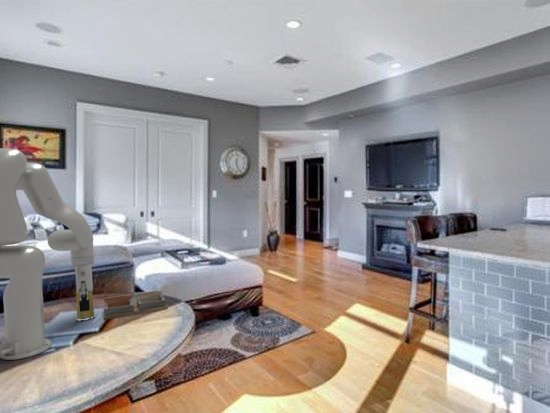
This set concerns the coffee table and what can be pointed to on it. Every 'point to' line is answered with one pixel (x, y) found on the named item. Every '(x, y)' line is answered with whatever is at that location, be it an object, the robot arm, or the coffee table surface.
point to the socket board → (125, 306)
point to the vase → (91, 312)
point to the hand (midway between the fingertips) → (85, 308)
